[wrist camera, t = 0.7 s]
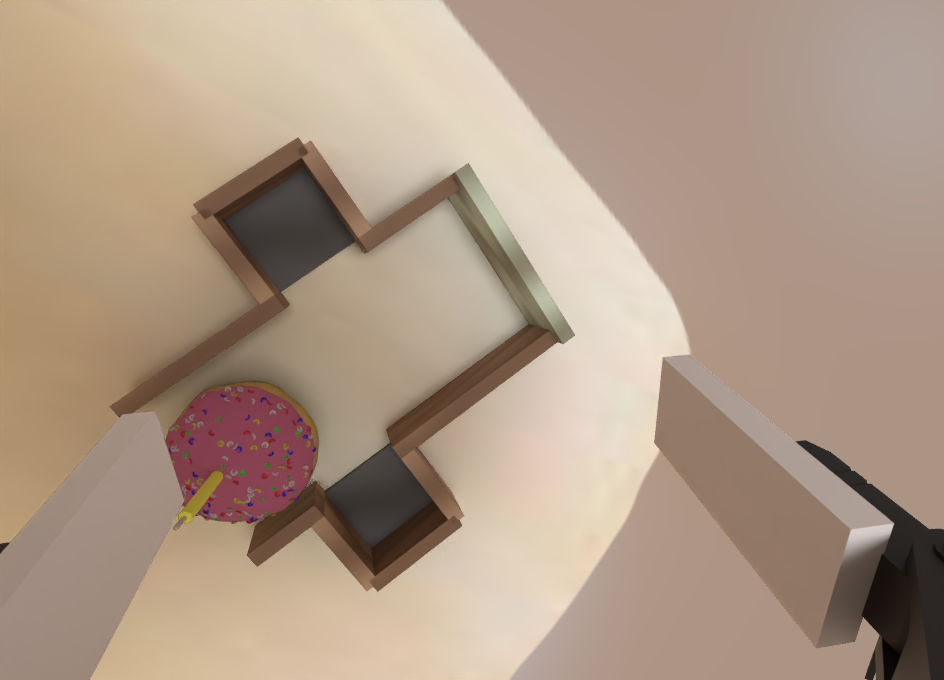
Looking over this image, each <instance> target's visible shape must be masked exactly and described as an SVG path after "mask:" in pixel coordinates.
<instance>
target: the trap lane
mask: <svg viewBox="0 0 944 680" xmlns="http://www.w3.org/2000/svg"><path fill="white" fill-rule="evenodd" d="M446 198H449V200H450V201H451V203H452V204H453V206H454V208H455V209H456V211H457V212H458V214H459V215H460V217H461V218H462V220H463V222H464V223H465V225H466V226H467V228H468V229H469V231H470V232H471V234H472V236H473V237H474V239H475V240H476V242H477V243H478V245H479V247H480V248H481V250H482V251H483V253H484V254H485V256H486V257H487V259H488V261H489V262H490V264H491V265H492V267H493V268H494V270H495V271H496V273H497V275H498V276H499V278H500V279H501V281H502V282H503V284H504V285H505V287H506V289H507V290H508V292H509V293H510V295H511V296H512V298H513V300H514V301H515V303H516V304H517V306H518V307H519V309H520V310H521V312H522V314H523V315H524V317H525V318H526V320H527V321H528V323H529V325H528V326H526V327H525V328H523V329H522V330H521V331H519V332H518V333H517V334H515V335H514V336H513V337H511V338H510V339H509V340H507V341H506V342H504V343H503V344H502V345H500V346H499V347H498V348H496V349H495V350H494V351H492V352H491V353H490V354H488V355H487V356H485V357H484V358H483V359H481V360H480V361H479V362H477V363H476V364H475V365H473V366H472V367H471V368H469V369H468V370H466V371H465V372H464V373H462V374H461V375H460V376H458V377H457V378H456V379H454V380H453V381H452V382H450V383H449V384H447V385H446V386H445V387H443V388H442V389H441V390H439V391H438V392H437V393H435V394H434V395H433V396H431V397H430V398H428V399H427V400H426V401H424V402H423V403H422V404H420V405H419V406H418V407H416V408H415V409H414V410H412V411H411V412H409V413H408V414H407V415H405V416H404V417H403V418H401V419H400V420H399V421H397V422H396V423H395V424H393V425H392V426H390V427H389V428H388V429H386V430H387V433H388V436H389V439H390V442H391V443H390V444H388V445H387V446H386V447H384V448H383V449H382V450H380V451H379V452H378V453H376V454H375V455H374V456H372V457H371V458H370V459H368V460H367V461H366V462H364V463H363V464H362V465H360V466H359V467H357V468H356V469H355V470H353V471H352V472H351V473H349V474H348V475H347V476H345V477H344V478H343V479H341V480H340V481H339V482H337V483H336V484H335V485H333V486H332V487H330V488H329V489H328V490H326V491H324V490H323V489H322V488H321V486H320V485H319V484H318V483H317V482H314V483H313V484H312V485H310V486H309V487H308V488H306V489H305V490H304V491H302V492H301V493H300V494H299V498H298V500H294V502H293V503H292V504H290V505H289V506H288V507H286V508H285V509H284V510H282V511H279V512H277V513H275V514H276V515H275V516H268V517H267V518H266V519H264V520H263V521H262V522H260V523H259V524H257V525H256V526H255V529H254V533H253V536H252V540H251V543H250V547H249V550H248V553H247V556H248V557H249V558H250V559H251V561H252V562H253V563H254V564H255V565H256V566H257V567H258V566H259V565H260V564H262V563H263V562H264V561H266V560H267V559H268V558H270V557H271V556H272V555H274V554H275V553H276V552H278V551H279V550H280V549H282V548H283V547H284V546H286V545H287V544H288V543H290V542H291V541H292V540H294V539H295V538H296V537H298V536H299V535H300V534H302V533H303V532H304V531H306V530H307V529H308V528H310V527H312V528H313V530H314V531H315V532H316V533H317V534H318V535H319V536H320V538H321V539H322V540H323V541H324V542H325V543H326V545H327V546H328V547H329V548H330V549H331V550H332V552H333V553H334V554H335V555H336V556H337V557H338V558H339V560H340V561H341V562H342V563H343V564H344V565H345V567H346V568H347V569H348V570H349V571H350V572H351V573H352V575H353V576H354V577H355V578H356V579H357V580H358V582H359V583H360V584H361V585H362V586H363V587H364V589H365V590H366V591H368V590H369V589H371V588H372V587H374V588H375V589H376V590H377V592H378V591H379V590H381V589H382V588H383V587H384V586H386V585H387V584H388V583H390V582H391V581H392V580H393V579H395V578H396V577H397V576H398V575H400V574H401V573H402V572H404V571H405V570H406V569H407V568H409V567H410V566H411V565H413V564H414V563H415V562H416V561H418V560H419V559H420V558H422V557H423V556H424V555H425V554H427V553H428V552H429V551H430V550H432V549H433V548H434V547H436V546H437V545H438V544H439V543H441V542H442V541H443V540H445V539H446V538H447V537H448V536H450V535H451V534H452V533H454V532H455V531H456V530H457V529H459V528H460V527H461V526H462V524H461V522H460V520H459V519H461V518H462V517H463V516H464V515H463V513H462V511H461V509H460V507H459V505H458V503H457V501H456V500H455V498H454V496H453V494H452V492H451V491H450V489H449V488H448V487H447V485H446V484H445V483H444V482H443V480H442V479H441V478H440V476H439V475H438V474H437V472H436V471H435V470H434V468H433V467H432V466H431V464H430V463H429V462H428V460H427V459H426V458H425V456H424V455H423V454H422V452H421V451H420V450H419V449H418V446H419V445H421V444H422V443H423V442H425V441H426V440H427V439H429V438H430V437H431V436H433V435H434V434H435V433H437V432H438V431H439V430H441V429H442V428H443V427H445V426H446V425H447V424H449V423H450V422H451V421H453V420H454V419H455V418H457V417H458V416H459V415H461V414H462V413H463V412H465V411H466V410H467V409H469V408H470V407H471V406H473V405H474V404H475V403H477V402H478V401H479V400H481V399H482V398H483V397H485V396H486V395H487V394H489V393H490V392H491V391H493V390H494V389H495V388H497V387H498V386H499V385H501V384H502V383H503V382H505V381H506V380H507V379H509V378H510V377H511V376H513V375H514V374H515V373H517V372H518V371H519V370H521V369H522V368H523V367H525V366H526V365H527V364H529V363H530V362H531V361H533V360H534V359H535V358H537V357H538V356H539V355H541V354H542V353H543V352H545V351H546V350H547V349H549V348H550V347H552V346H553V345H554V344H556V343H557V342H559V343H562V344H564V343H566V342H567V341H568V340H570V339H571V338H572V337H574V336H575V334H574V333H573V331H572V329H571V328H570V326H569V325H568V323H567V321H566V320H565V318H564V317H563V315H562V313H561V312H560V310H559V308H558V307H557V305H556V304H555V302H554V300H553V299H552V297H551V296H550V294H549V292H548V291H547V289H546V287H545V286H544V284H543V283H542V281H541V279H540V278H539V276H538V275H537V273H536V271H535V270H534V268H533V266H532V265H531V263H530V262H529V260H528V258H527V257H526V255H525V254H524V252H523V250H522V249H521V247H520V246H519V244H518V242H517V241H516V239H515V237H514V236H513V234H512V233H511V231H510V229H509V228H508V226H507V225H506V223H505V221H504V220H503V218H502V216H501V215H500V213H499V212H498V210H497V208H496V207H495V205H494V204H493V202H492V200H491V199H490V197H489V195H488V194H487V192H486V191H485V189H484V187H483V186H482V184H481V183H480V181H479V179H478V178H477V176H476V174H475V173H474V171H473V170H472V168H471V166H470V165H469V163H468V164H466V165H465V166H463V167H462V168H460V169H459V170H457V171H456V172H455V173H453V174H452V175H450V176H449V177H448V178H446V179H445V180H443V181H442V182H440V183H439V184H437V185H436V186H434V187H433V188H431V189H430V190H428V191H427V192H425V193H424V194H422V195H421V196H419V197H418V198H417V199H415V200H414V201H412V202H411V203H409V204H408V205H406V206H405V207H403V208H402V209H400V210H399V211H397V212H396V213H394V214H393V215H391V216H390V217H388V218H387V219H386V220H384V221H383V222H381V223H380V224H378V225H377V226H375V227H374V228H371V227H370V225H369V224H368V222H367V221H366V219H365V218H364V216H363V215H362V214H361V212H360V211H359V209H358V208H357V206H356V205H355V203H354V202H353V201H352V199H351V198H350V196H349V195H348V193H347V192H346V190H345V189H344V188H343V186H342V185H341V183H340V182H339V180H338V179H337V177H336V176H335V175H334V173H333V172H332V170H331V169H330V167H329V166H328V164H327V163H326V162H325V160H324V159H323V157H322V156H321V154H320V153H319V151H318V150H317V149H316V147H315V146H314V144H313V143H312V141H309V142H308V143H306V144H305V145H303V144H302V142H301V141H300V139H299V138H297V139H295V140H293V141H292V142H290V143H289V144H287V145H286V146H284V147H282V148H281V149H279V150H278V151H276V152H275V153H273V154H272V155H270V156H268V157H267V158H265V159H264V160H262V161H261V162H259V163H257V164H256V165H254V166H253V167H251V168H250V169H248V170H246V171H245V172H243V173H242V174H240V175H239V176H237V177H235V178H234V179H232V180H231V181H229V182H228V183H226V184H224V185H223V186H221V187H220V188H218V189H217V190H215V191H214V192H212V193H210V194H209V195H207V196H206V197H204V198H203V199H201V200H199V201H198V202H196V203H195V204H193V205H194V207H195V208H196V209H197V210H198V212H199V213H197V214H195V215H194V216H192V219H193V220H194V221H195V223H196V224H197V225H198V226H199V228H200V229H201V230H202V231H203V233H204V234H205V235H206V237H207V238H208V239H209V240H210V242H211V243H212V244H213V245H214V247H215V248H216V249H217V251H218V252H219V253H220V254H221V256H222V257H223V258H224V260H225V261H226V262H227V263H228V265H229V266H230V267H231V268H232V270H233V271H234V272H235V274H236V275H237V276H238V277H239V279H240V280H241V281H242V282H243V284H244V285H245V286H246V288H247V289H248V290H249V291H250V293H251V294H252V295H253V296H254V298H255V299H256V300H257V302H258V303H259V304H260V305H259V306H257V307H256V308H254V309H253V310H251V311H250V312H248V313H247V314H245V315H244V316H242V317H241V318H239V319H238V320H236V321H235V322H233V323H232V324H230V325H229V326H228V327H226V328H225V329H223V330H222V331H220V332H219V333H217V334H216V335H214V336H213V337H211V338H210V339H208V340H207V341H205V342H204V343H202V344H201V345H199V346H198V347H196V348H195V349H194V350H192V351H191V352H189V353H188V354H186V355H185V356H183V357H182V358H180V359H179V360H177V361H176V362H174V363H173V364H171V365H170V366H168V367H167V368H165V369H164V370H163V371H161V372H160V373H158V374H157V375H155V376H154V377H152V378H151V379H149V380H148V381H146V382H145V383H143V384H142V385H140V386H139V387H137V388H136V389H134V390H133V391H132V392H130V393H129V394H127V395H126V396H124V397H123V398H121V399H120V400H118V401H117V402H115V403H114V404H112V405H111V406H109V407H110V408H111V409H112V410H113V411H114V412H115V413H116V414H117V415H118V416H119V417H121V416H122V415H123V414H131V413H133V412H134V411H136V410H137V409H139V408H140V407H142V406H143V405H145V404H146V403H147V402H149V401H150V400H152V399H153V398H155V397H156V396H158V395H159V394H161V393H162V392H164V391H165V390H167V389H168V388H169V387H171V386H172V385H174V384H175V383H177V382H178V381H180V380H181V379H183V378H184V377H186V376H187V375H188V374H190V373H191V372H193V371H194V370H196V369H197V368H199V367H200V366H202V365H203V364H205V363H206V362H208V361H209V360H210V359H212V358H213V357H215V356H216V355H218V354H219V353H221V352H222V351H224V350H225V349H227V348H228V347H229V346H231V345H232V344H234V343H235V342H237V341H238V340H240V339H241V338H243V337H244V336H246V335H247V334H249V333H250V332H251V331H253V330H254V329H256V328H257V327H259V326H260V325H262V324H263V323H265V322H266V321H268V320H269V319H270V318H272V317H273V316H275V315H276V314H278V313H279V312H281V311H282V310H284V309H285V308H286V307H287V306H288V305H289V302H288V301H287V300H286V298H285V297H284V296H283V294H282V293H281V291H282V290H284V289H285V288H287V287H288V286H290V285H291V284H293V283H294V282H296V281H297V280H298V279H300V278H301V277H303V276H304V275H306V274H307V273H309V272H310V271H312V270H313V269H315V268H316V267H318V266H319V265H321V264H322V263H324V262H325V261H327V260H328V259H329V258H331V257H332V256H334V255H335V254H337V253H338V252H340V251H341V250H343V249H344V248H346V247H347V246H349V245H350V244H352V243H353V242H355V241H356V242H357V244H358V245H359V246H360V248H361V249H362V251H363V252H364V253H366V252H369V251H370V250H371V249H373V248H374V247H376V246H377V245H379V244H380V243H382V242H383V241H385V240H386V239H388V238H389V237H391V236H392V235H393V234H395V233H396V232H398V231H399V230H401V229H402V228H404V227H405V226H407V225H408V224H410V223H411V222H412V221H414V220H415V219H417V218H418V217H420V216H421V215H423V214H424V213H426V212H427V211H429V210H430V209H432V208H433V207H434V206H436V205H437V204H439V203H440V202H442V201H443V200H445V199H446ZM296 499H297V498H296Z"/></svg>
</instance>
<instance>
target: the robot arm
mask: <svg viewBox="0 0 944 680" xmlns="http://www.w3.org/2000/svg"><path fill="white" fill-rule="evenodd" d="M654 443H655V444H656V446H657V447H658V448H659V449H660V451H661V452H662V453H663V454H664V456H665V457H666V458H667V459H668V461H669V462H670V463H671V464H672V466H673V467H674V468H675V470H676V471H677V472H678V473H679V475H680V476H681V477H682V479H683V480H684V481H685V482H686V484H687V485H688V486H689V488H690V489H691V490H692V491H693V492H694V494H695V495H696V496H697V498H698V499H699V500H700V502H701V503H702V504H703V505H704V507H705V508H706V509H707V510H708V512H709V513H710V514H711V515H712V517H713V518H714V519H715V520H716V522H717V523H718V524H719V525H720V527H721V528H722V529H723V531H724V532H725V533H726V535H727V536H728V537H729V538H730V540H731V541H732V542H733V543H734V545H735V546H736V547H737V549H738V550H739V551H740V552H741V554H742V555H743V556H744V557H745V559H746V560H747V561H748V562H749V564H750V565H751V566H752V567H753V569H754V570H755V571H756V572H757V574H758V575H759V576H760V578H761V579H762V580H763V581H764V583H765V584H766V585H767V587H768V588H769V589H770V590H771V592H772V593H773V594H774V595H775V597H776V598H777V599H778V600H779V602H780V603H781V604H782V606H783V607H784V608H785V609H786V611H787V612H788V613H789V615H790V616H791V617H792V618H793V620H794V621H795V622H796V623H797V625H798V626H799V627H800V628H801V630H802V631H803V632H804V633H805V635H806V636H807V637H808V639H809V640H810V641H811V642H812V644H813V645H814V646H815V647H816V648H821V647H827V646H832V645H838V644H844V643H850V642H855V640H856V637H857V634H858V631H859V627H860V624H861V622H862V619H863V617H864V618H865V619H866V620H867V622H868V623H869V624H870V625H871V626H872V627H873V628H874V629H875V630H876V631H877V632H878V634H879V635H880V636H879V638H878V641H877V644H876V647H875V650H874V652H873V655H872V658H871V661H870V664H869V666H868V669H867V673H866V676H865V679H867V680H873V678H874V675H875V673H876V680H944V530H943V529H928V528H927V527H926V526H924V525H923V524H922V523H920V522H919V521H918V520H917V519H915V518H914V517H913V516H911V515H910V514H909V513H908V512H906V511H905V510H904V509H903V508H901V507H900V506H899V505H897V504H896V503H895V502H893V501H892V500H891V499H890V498H888V497H887V496H886V495H885V494H883V493H882V492H881V491H880V490H878V489H877V488H876V487H874V486H873V485H872V484H868V483H867V480H865V479H864V478H863V477H862V476H860V475H859V474H858V473H856V472H855V471H851V469H850V467H849V466H848V465H846V464H845V463H844V462H842V461H841V460H840V459H839V458H837V457H836V456H835V455H833V454H832V453H831V452H829V451H827V450H825V449H823V448H820V447H818V446H816V445H814V444H812V443H810V442H808V441H796V442H795V441H794V440H793V439H791V438H790V437H789V436H788V435H786V434H785V433H784V432H782V431H781V430H780V429H779V428H778V427H777V426H775V425H774V424H773V423H772V422H771V421H770V420H768V419H767V418H766V417H765V416H763V415H762V414H761V413H760V412H759V411H757V410H756V409H755V408H754V407H752V406H751V405H750V404H749V403H748V402H746V401H745V400H744V399H743V398H742V397H740V396H739V395H738V394H737V393H736V392H734V391H733V390H732V389H731V388H729V387H728V386H727V385H726V384H725V383H723V382H722V381H721V380H720V379H719V378H717V377H716V376H715V375H714V374H713V373H711V372H710V371H709V370H707V369H706V368H705V367H704V366H703V365H702V364H700V363H699V362H698V361H697V360H695V359H694V358H693V357H692V356H691V355H681V356H672V357H663V361H662V371H661V381H660V391H659V401H658V411H657V421H656V431H655V440H654ZM183 502H184V498H183V495H182V492H181V489H180V486H179V483H178V480H177V477H176V473H175V470H174V467H173V464H172V461H171V458H170V455H169V452H168V449H167V445H166V442H165V439H164V436H163V433H162V430H161V427H160V424H159V421H158V418H157V414H156V411H151V412H142V413H132V414H123V415H122V416H121V417H120V418H119V419H118V420H117V421H116V423H115V424H114V425H113V426H112V427H111V428H110V429H109V431H108V432H107V433H106V434H105V435H104V436H103V437H102V439H101V440H100V441H99V442H98V443H97V444H96V445H95V446H94V448H93V449H92V450H91V451H90V452H89V453H88V454H87V456H86V457H85V458H84V459H83V460H82V461H81V462H80V464H79V465H78V466H77V467H76V468H75V469H74V470H73V472H72V473H71V474H70V475H69V476H68V477H67V478H66V480H65V481H64V482H63V483H62V484H61V485H60V486H59V488H58V489H57V490H56V491H55V492H54V493H53V494H52V496H51V497H50V498H49V499H48V500H47V501H46V502H45V503H44V505H43V506H42V507H41V508H40V509H39V510H38V511H37V513H36V514H35V515H34V516H33V517H32V518H31V519H30V521H29V522H28V523H27V524H26V525H25V526H24V527H23V529H22V530H21V531H20V532H19V533H18V534H17V535H16V537H15V538H14V539H13V540H12V541H11V542H10V543H2V544H0V680H90V678H91V676H92V674H93V673H94V671H95V669H96V667H97V665H98V663H99V661H100V659H101V657H102V655H103V654H104V652H105V650H106V648H107V646H108V644H109V642H110V640H111V638H112V637H113V635H114V633H115V631H116V629H117V627H118V625H119V623H120V621H121V619H122V618H123V616H124V614H125V612H126V610H127V608H128V606H129V604H130V602H131V600H132V599H133V597H134V595H135V593H136V591H137V589H138V587H139V585H140V583H141V582H142V580H143V578H144V576H145V574H146V572H147V570H148V568H149V566H150V564H151V563H152V561H153V559H154V557H155V555H156V553H157V551H158V549H159V547H160V546H161V544H162V542H163V540H164V538H165V536H166V534H167V532H168V530H169V528H170V527H171V525H172V523H173V521H174V519H175V517H176V515H177V513H178V511H179V510H180V508H181V506H182V504H183Z"/></svg>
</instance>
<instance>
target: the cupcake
mask: <svg viewBox="0 0 944 680" xmlns="http://www.w3.org/2000/svg"><path fill="white" fill-rule="evenodd" d="M166 445H167V449H168V452H169V455H170V458H171V461H172V464H173V467H174V470H175V473H176V477H177V480H178V483H179V486H180V489H181V492H182V495H183V498H184V502H183V504H184V505H183V504H182V506H184V508H183V510H182V511H181V512H180V514H179V515H178V519H179V522H178V523H177V524H176V525H175V526H174V527H173V530H177V529H178V528H179V527H180V526H181V525H182V524H183V523H184V524H187V523H190V522H191V521H192V520H193V518H194V517H195V516H199V515H201V516H203V517H204V519H205V520H209V519H211V520H216V521H225V522H231V523H232V524H235V523H237V522H243V521H246V522H247V523H252V522H254V521H257V520H258V519H261V518H262V519H263V518H264V517H266V516H269V515H270V516H275V515H276V514H275V513H277V512H279V511H282V510H284V509H285V508H286V507H288V506H289V505H290V504H292V503H293V502H294V500H298V498H299V494H300V493H301V491H302V490H303V489H304V488H305V486H306V485H307V483H308V482H309V480H310V478H311V476H312V473H313V471H314V468H315V466H316V462H317V456H318V445H319V439H318V432H317V429H316V426H315V424H314V422H313V420H312V418H311V417H310V416H309V414H308V413H307V412H306V411H305V410H304V409H303V408H302V407H301V406H300V405H299V404H298V403H297V402H295V401H294V400H293V399H291V398H290V397H289V396H287V395H286V394H285V393H284V392H283V391H282V390H281V389H280V388H278V387H276V386H274V385H270V384H267V383H262V382H242V383H235V384H228V385H223V386H218V387H214V388H210V389H207V390H205V391H203V392H202V393H200V394H199V395H198V396H197V397H196V398H195V399H194V400H193V401H192V402H191V403H190V404H189V405H188V406H187V408H186V409H185V410H184V411H183V413H182V414H181V415H180V417H179V418H178V419H177V421H176V422H175V423H174V424H173V425H172V426H171V427H170V428H169V432H168V434H167V438H166ZM296 498H297V499H296ZM206 518H207V519H206ZM249 521H250V522H249ZM233 522H234V523H233Z"/></svg>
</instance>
